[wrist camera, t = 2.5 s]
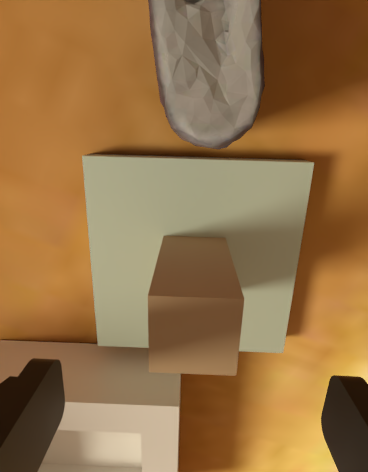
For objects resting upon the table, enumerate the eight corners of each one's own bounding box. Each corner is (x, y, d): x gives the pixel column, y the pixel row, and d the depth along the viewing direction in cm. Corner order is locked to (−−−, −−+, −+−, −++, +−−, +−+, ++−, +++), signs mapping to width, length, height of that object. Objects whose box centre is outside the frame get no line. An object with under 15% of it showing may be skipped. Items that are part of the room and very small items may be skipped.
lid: (88, 153, 16) (12, 173, 9) (306, 160, 15) (393, 184, 9) (102, 335, 19) (55, 444, 13) (278, 341, 19) (324, 455, 12)
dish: (-2, 340, 20) (-54, 397, 16) (181, 346, 20) (179, 406, 16) (25, 466, 24) (-11, 539, 20) (178, 473, 24) (175, 548, 20)
